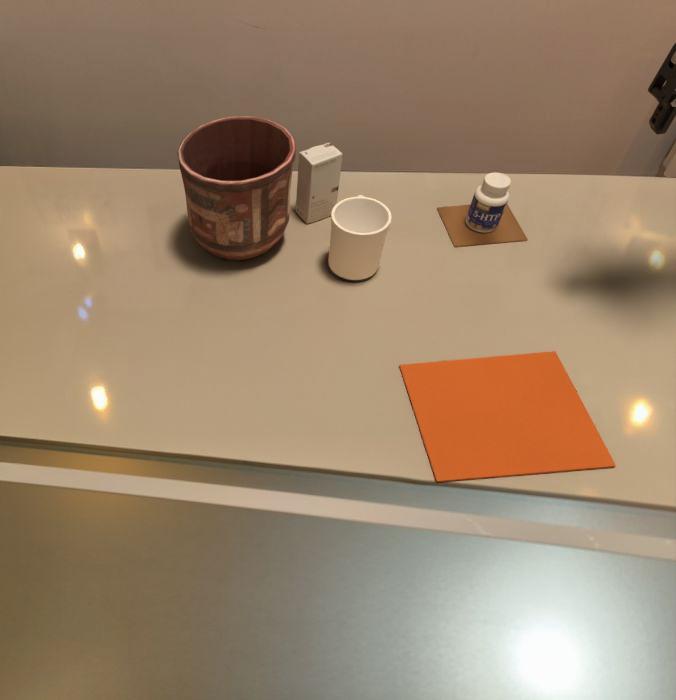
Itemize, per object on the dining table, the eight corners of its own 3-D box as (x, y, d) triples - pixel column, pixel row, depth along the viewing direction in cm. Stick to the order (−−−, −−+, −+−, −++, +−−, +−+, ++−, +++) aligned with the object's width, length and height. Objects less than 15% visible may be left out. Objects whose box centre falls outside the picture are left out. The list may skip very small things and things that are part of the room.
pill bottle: (465, 231, 102) (480, 188, 95) (464, 211, 105) (479, 168, 98) (498, 235, 101) (516, 191, 94) (497, 215, 104) (514, 171, 97)
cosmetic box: (307, 225, 106) (311, 166, 96) (294, 211, 108) (297, 152, 99) (337, 213, 107) (344, 154, 98) (323, 200, 110) (329, 140, 100)
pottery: (276, 282, 98) (279, 191, 84) (174, 264, 102) (161, 173, 88) (301, 213, 108) (307, 121, 94) (207, 199, 112) (200, 108, 98)
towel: (554, 352, 86) (555, 351, 86) (614, 467, 75) (616, 465, 74) (399, 366, 86) (399, 364, 86) (436, 482, 75) (436, 481, 75)
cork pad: (505, 202, 106) (505, 201, 106) (527, 240, 100) (527, 239, 100) (436, 208, 106) (437, 207, 106) (454, 247, 100) (455, 245, 100)
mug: (381, 286, 96) (392, 236, 88) (324, 282, 97) (330, 233, 89) (380, 239, 102) (390, 189, 94) (327, 236, 104) (332, 187, 96)
